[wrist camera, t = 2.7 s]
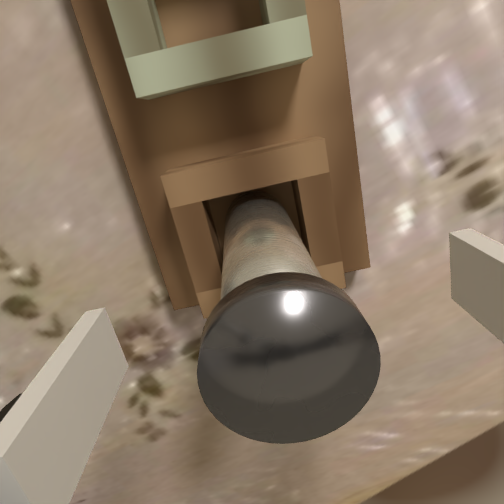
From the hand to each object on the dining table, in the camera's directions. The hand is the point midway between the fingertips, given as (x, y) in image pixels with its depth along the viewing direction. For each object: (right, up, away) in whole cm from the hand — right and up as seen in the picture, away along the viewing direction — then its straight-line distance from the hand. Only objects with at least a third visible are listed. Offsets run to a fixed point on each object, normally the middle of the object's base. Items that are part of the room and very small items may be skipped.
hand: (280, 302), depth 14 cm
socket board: (-2, +11, +10) cm, 15 cm away
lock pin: (-1, +4, +10) cm, 11 cm away
